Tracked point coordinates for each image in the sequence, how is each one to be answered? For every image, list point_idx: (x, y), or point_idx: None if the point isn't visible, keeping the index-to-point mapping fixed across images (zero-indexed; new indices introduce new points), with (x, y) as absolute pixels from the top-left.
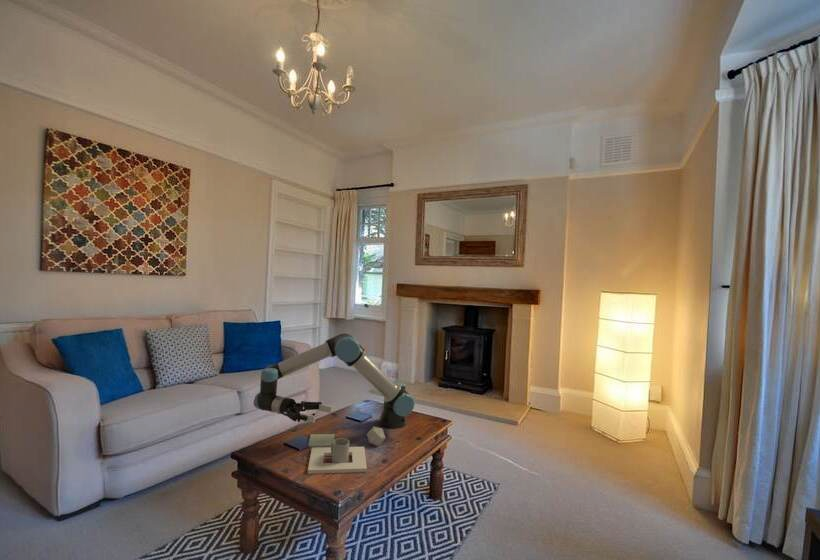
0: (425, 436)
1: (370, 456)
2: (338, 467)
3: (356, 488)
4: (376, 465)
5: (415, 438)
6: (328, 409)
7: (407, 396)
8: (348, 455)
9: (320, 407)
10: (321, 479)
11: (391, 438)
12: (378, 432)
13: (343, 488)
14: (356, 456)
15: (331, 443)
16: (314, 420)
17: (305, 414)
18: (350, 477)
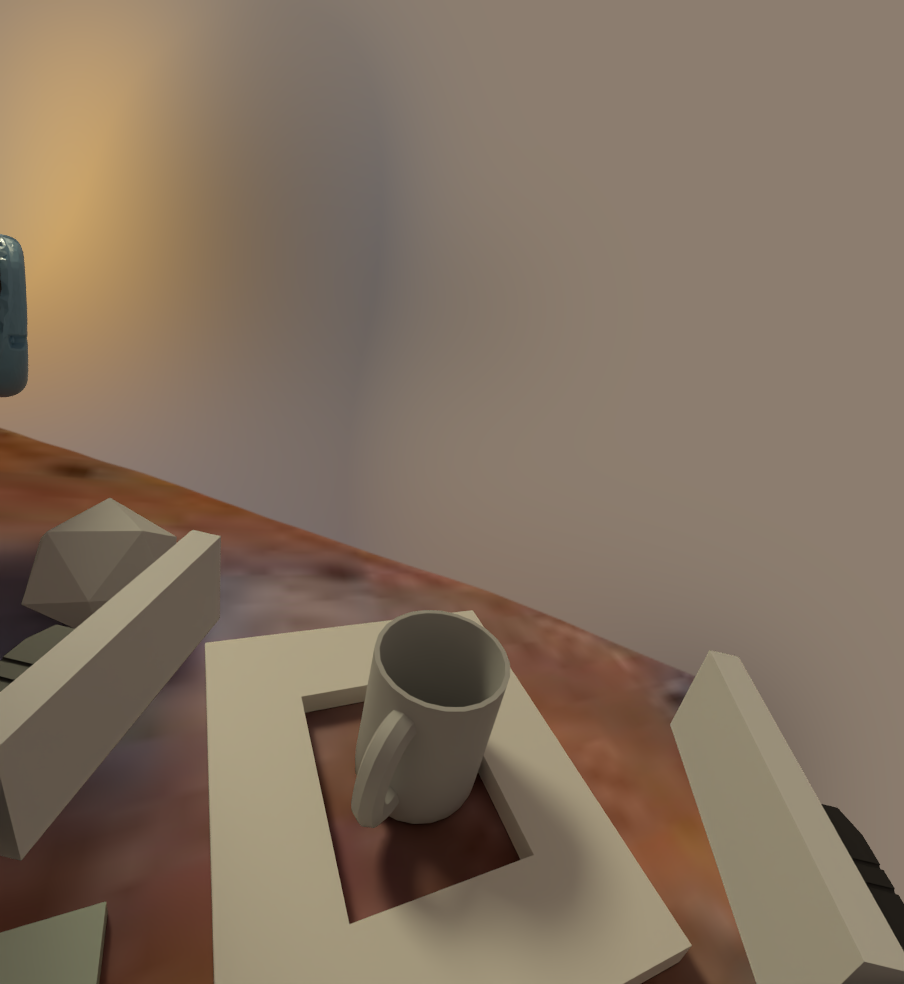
0: (56, 453)
1: (299, 623)
2: (530, 732)
3: (610, 644)
4: (393, 596)
5: (71, 478)
6: (194, 608)
7: (20, 245)
8: (414, 682)
9: (49, 758)
10: (661, 818)
11: (36, 549)
12: (147, 524)
13: (646, 688)
14: (361, 664)
15: (56, 952)
16: (689, 704)
17: (828, 832)
18: (548, 678)
